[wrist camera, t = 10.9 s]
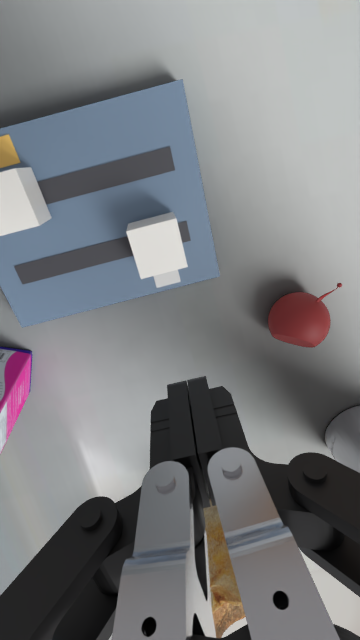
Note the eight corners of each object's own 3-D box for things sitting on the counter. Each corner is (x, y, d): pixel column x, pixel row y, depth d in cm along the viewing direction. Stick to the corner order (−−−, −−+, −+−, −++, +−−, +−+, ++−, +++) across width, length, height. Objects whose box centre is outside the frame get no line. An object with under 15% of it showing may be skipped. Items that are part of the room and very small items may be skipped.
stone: (206, 575, 60) (232, 693, 47) (131, 559, 53) (138, 692, 40) (295, 500, 54) (353, 612, 41) (224, 471, 47) (267, 594, 34)
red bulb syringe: (310, 302, 38) (367, 294, 31) (298, 348, 38) (353, 352, 30) (267, 283, 37) (315, 271, 29) (253, 331, 36) (299, 331, 28)
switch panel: (179, 84, 26) (182, 78, 24) (216, 270, 33) (220, 276, 32) (-58, 149, 27) (-73, 148, 25) (28, 318, 34) (21, 327, 32)
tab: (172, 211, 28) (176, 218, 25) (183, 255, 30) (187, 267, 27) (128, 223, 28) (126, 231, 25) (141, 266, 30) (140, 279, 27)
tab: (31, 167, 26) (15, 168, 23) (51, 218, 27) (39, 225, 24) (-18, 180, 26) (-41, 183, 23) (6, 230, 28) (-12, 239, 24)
